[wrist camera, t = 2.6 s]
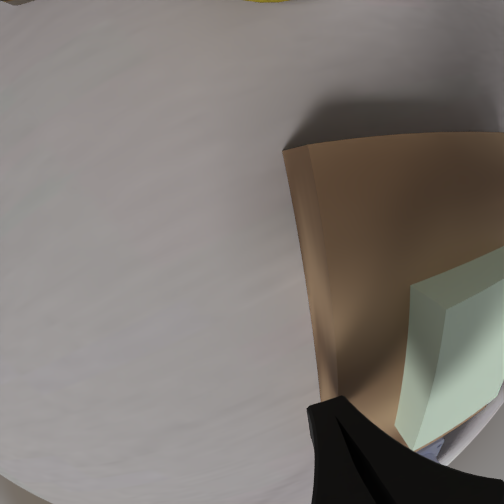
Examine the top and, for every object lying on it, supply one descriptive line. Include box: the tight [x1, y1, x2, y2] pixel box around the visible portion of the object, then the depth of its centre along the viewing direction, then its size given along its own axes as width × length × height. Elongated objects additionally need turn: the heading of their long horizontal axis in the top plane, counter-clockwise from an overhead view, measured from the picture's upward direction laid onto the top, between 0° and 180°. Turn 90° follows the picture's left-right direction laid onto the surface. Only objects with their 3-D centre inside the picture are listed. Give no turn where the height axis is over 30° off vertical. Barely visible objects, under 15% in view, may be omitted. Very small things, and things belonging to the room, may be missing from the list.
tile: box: [395, 246, 504, 451], centre depth 9 cm, size 8×6×2 cm
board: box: [282, 132, 504, 452], centre depth 12 cm, size 18×12×3 cm, turn 12°
